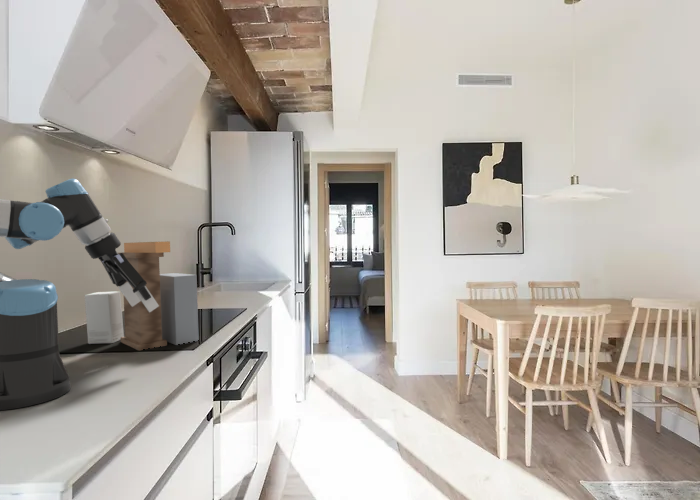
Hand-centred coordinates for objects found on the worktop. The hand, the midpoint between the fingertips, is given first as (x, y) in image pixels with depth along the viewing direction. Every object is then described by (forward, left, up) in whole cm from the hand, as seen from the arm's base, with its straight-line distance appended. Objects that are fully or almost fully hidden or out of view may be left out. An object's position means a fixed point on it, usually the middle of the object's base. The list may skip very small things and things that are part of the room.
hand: (144, 306), depth 117 cm
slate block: (+14, +15, -14) cm, 25 cm away
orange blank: (+5, +12, +14) cm, 19 cm away
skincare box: (-2, +30, -14) cm, 33 cm away
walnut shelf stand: (+5, +17, -14) cm, 22 cm away
